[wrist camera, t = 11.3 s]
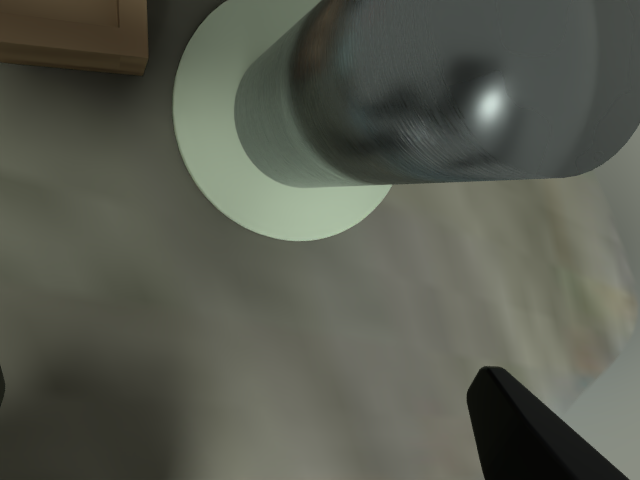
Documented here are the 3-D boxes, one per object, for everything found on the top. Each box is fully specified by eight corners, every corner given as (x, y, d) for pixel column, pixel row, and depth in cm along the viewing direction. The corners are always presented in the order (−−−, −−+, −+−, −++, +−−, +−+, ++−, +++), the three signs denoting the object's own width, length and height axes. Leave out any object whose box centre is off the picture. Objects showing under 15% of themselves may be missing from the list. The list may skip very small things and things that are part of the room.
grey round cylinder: (285, 215, 19) (522, 240, 8) (204, 89, 18) (366, -87, 7) (386, 141, 21) (694, 81, 10) (320, 19, 19) (604, -215, 8)
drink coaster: (341, 277, 21) (348, 279, 21) (122, 165, 17) (122, 164, 17) (433, 83, 22) (441, 79, 22) (246, -66, 18) (251, -74, 18)
